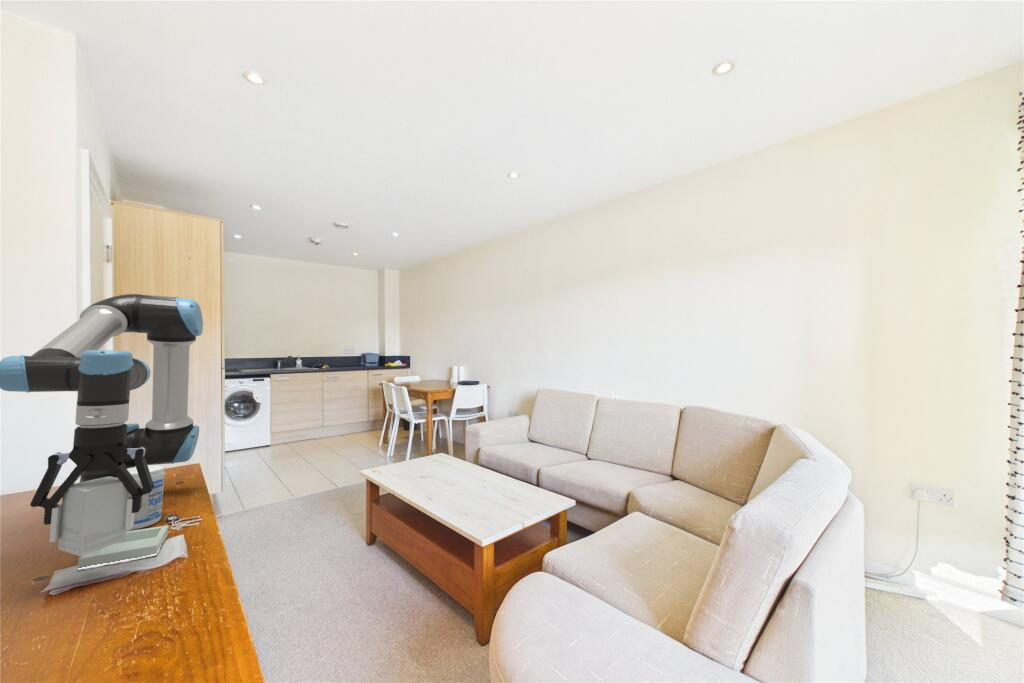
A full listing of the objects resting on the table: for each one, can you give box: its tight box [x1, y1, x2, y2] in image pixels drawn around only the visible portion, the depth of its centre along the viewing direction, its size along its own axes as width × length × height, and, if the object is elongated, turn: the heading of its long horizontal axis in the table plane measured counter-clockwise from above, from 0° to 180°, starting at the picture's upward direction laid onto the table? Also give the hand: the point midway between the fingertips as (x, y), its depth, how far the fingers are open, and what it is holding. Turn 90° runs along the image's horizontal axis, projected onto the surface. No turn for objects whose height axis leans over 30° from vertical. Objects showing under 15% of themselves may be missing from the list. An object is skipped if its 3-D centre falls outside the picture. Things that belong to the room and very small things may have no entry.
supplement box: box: [58, 476, 129, 557], centre depth 79 cm, size 7×7×13 cm
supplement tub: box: [127, 464, 166, 531], centre depth 104 cm, size 10×10×15 cm
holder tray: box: [77, 524, 170, 569], centre depth 90 cm, size 12×12×2 cm
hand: (93, 533), depth 79 cm, fingers closed on supplement box, 10 cm apart
